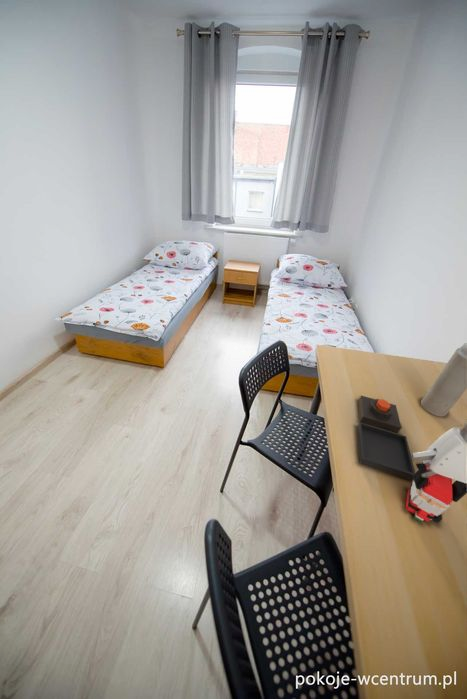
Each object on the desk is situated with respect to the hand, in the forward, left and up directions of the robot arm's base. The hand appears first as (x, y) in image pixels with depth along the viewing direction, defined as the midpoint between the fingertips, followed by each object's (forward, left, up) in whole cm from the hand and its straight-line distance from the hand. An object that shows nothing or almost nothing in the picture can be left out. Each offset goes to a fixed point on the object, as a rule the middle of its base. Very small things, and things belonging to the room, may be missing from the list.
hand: (434, 488), depth 61 cm
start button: (+6, -27, -3) cm, 28 cm away
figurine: (-1, 0, -8) cm, 8 cm away
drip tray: (+6, -13, -8) cm, 17 cm away
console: (+6, -27, -8) cm, 29 cm away
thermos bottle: (-14, -40, -8) cm, 43 cm away
